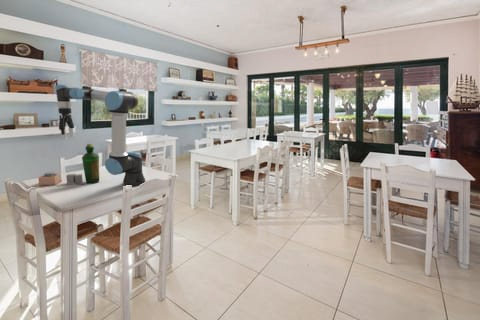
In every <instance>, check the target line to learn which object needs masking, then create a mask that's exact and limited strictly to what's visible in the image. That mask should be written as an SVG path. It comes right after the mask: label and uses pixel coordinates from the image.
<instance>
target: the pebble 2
mask: <svg viewBox="0 0 480 320" xmlns="http://www.w3.org/2000/svg"><path fill="white" fill-rule="evenodd" d="M75 174H76V173H75ZM83 183H84V179H83V174H78V173H77V174H76V175H75V184H74V185H80V184H81V185H82V184H83Z"/></svg>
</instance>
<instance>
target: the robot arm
mask: <svg viewBox="0 0 480 320" xmlns="http://www.w3.org/2000/svg"><path fill="white" fill-rule="evenodd" d="M55 92H56V100H57V103H56V104H57V107H58V114H59V123H58V130H59V131H60V133H61V140H67V139H68V138H67V130H66V125H67V127H68V136H69V138H75V135H74V129H75V125H74V121H73V117H72V106H71V100H87V101H96V102H102V103H104V105H105V108H106V109H107V110H108V113H109V114H110V116H111V152H110V153H109V154H108V158H106V160H105V162H104V166H105V170H106V171H107V172H108V173H110V175H112V176H117V175H121V174H124V177H123V180H122V185H123V186H125V185H132V186H131V187H138V186H141V185H140V184H142V183H144V182H145V183H146V179H145V178H146V177H145V176H144V173H143V157H142V154H141V152H137V151H136V152H135V151H126V150H127V149H126V148H127V116H128V115H129V113H130V112H129V111H130V110H134V109H136V108H137V107H138V104H139V98H138V97H137V94H135V93H133V92H131V91H122V90H121V91H120V90H112V91H107V90H106V91H105V90H98V89H94V88H81V87H69V85H67V84H57V85H55Z"/></svg>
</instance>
